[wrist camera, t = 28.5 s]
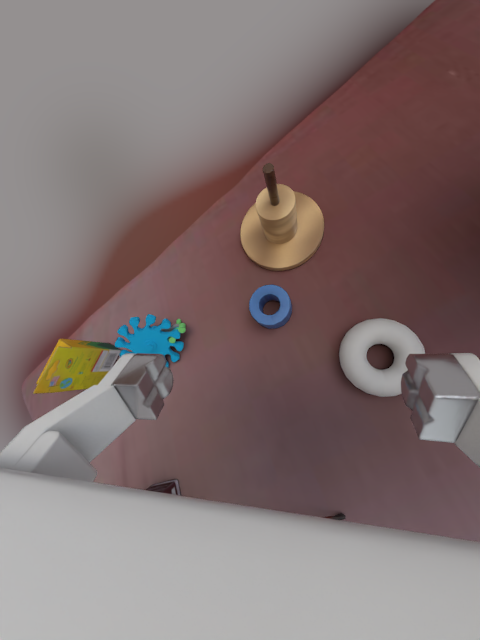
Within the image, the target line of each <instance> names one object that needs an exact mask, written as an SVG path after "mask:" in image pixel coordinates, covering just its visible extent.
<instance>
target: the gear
mask: <svg viewBox="0 0 480 640" xmlns="http://www.w3.org/2000/svg"><path fill="white" fill-rule="evenodd" d="M155 320H156V317H155V316H153V315H150V314H148V315H147V317H146V326H145V327H144V328H142V329H141V328H139V327H138V324H139V322H140V319H139V317H133V318H131V319H130V321H129V323H130V325H131V326H132V327H133V329H134V334H130V333H129V332H128V327H127V326H126V325H123V326H121V327H120V328H119V329H118V331H117V332H118V333H119V334H120V335H123V336H125V337H126V338H127V339H128V340H129V341H130V343H127V342H125V340H124V339H123V338H121V337H118V338H117V340H116V342H115V347H118V348H119V347H124V348H128V349H130V350H132V351H133V352H129V351H127V350H121V352H120V357H121V356H122V355H124V354H126V353H134V354H137V353H145V354H162V355H164V357H165V355H166V354H169V355H171V361H172V362H176V361H177V360H179V357H180V355H179V354H178V353H176V352H174V351H172V350H171V348H170V346H174V347H175V348H176V350H178V351H181V350H182V349H183V346H184V343H183V342H181V341H179V342H176V339H179V338H180V334H181V333H184V332H185V329H186V325H185V324H184V323H181V320H180V319H177V322H176V324H174V325H172V326H171V322H170V321H169V320H168V319H164V320H163V321H162V323H161V324H160V325H159V326H153V327H150V325H151V324H153V323H154V322H155ZM166 361H167V360H166ZM168 365H169V363H168V361H167V362H166V365H165V366H166V367H168Z"/></svg>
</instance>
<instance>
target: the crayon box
mask: <svg viewBox="0 0 480 640" xmlns="http://www.w3.org/2000/svg"><path fill="white" fill-rule="evenodd" d="M120 352H121V350H119V349H118V348H116V347H115V346H113V345H112V344H110V343H100V342H90V341H80V340H70V339H59V341H58V343H57V345H56V347H55V349H54V351H53V353H52V354H51V356H50V358H49V360H48V362H47V364H46V366H45V368H44V370H43V372H42V373H41V375H40V377H39V379H38V381H37V383H36V384H37V386H36V388H35V390H34V392H33V394H37V393H54V392H63V391H72V390H81V389H88V388H90V387H92V386H93V385H98V384H99V383H100V381H101V380H102V379H103V378H104V377H105V375H106V374H107V373H108V372H109V371H110V369H111V368H112V367H113V365H114V363H115V361H116V359H117V357H118V355H119V354H120Z"/></svg>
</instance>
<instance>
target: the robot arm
mask: <svg viewBox="0 0 480 640" xmlns="http://www.w3.org/2000/svg"><path fill="white" fill-rule="evenodd" d="M166 362H167V361H166V359H165V357H164V355H162V354H145V353H137V354H134V353H126V354H124V355H122V356H121V357H120V358H119V360H118V361H117V362H116V363H115V365H114V366H113V367H112V368H111V369H110V371H109V372H108V373H107V374H106V375H105V377H104V378H103V379H102V380H101V381H100V383H99V384H98V385H93V386H92V387H90V388H88V389H87V390H85V391H83V392H82V393H80V394H78V395H77V396H75V397H73V398H72V399H70V400H68V401H67V402H65V403H63V404H62V405H60V406H58V407H57V408H55V409H53V410H52V411H50V412H48V413H47V414H45V415H43V416H42V417H40V418H38V419H37V420H35V421H33V422H32V423H31V424H29V425H27V426H25V427H24V428H23V429H22V430H21V431H20V432H19V433H18V435H17V436H16V437H15V438H14V439H13V440H12V441H11V442H10V443H9V444H8V445H7V446H6V447H5V448H4V449H3V450H2V451H1V452H0V640H480V542H477V541H471V540H464V539H458V538H451V537H445V536H438V535H432V534H425V533H419V532H412V531H406V530H400V529H393V528H387V527H380V526H374V525H367V524H361V523H354V522H348V521H341V520H335V519H329V518H322V517H316V516H309V515H303V514H296V513H290V512H283V511H277V510H270V509H264V508H258V507H251V506H245V505H238V504H232V503H225V502H219V501H212V500H206V499H199V498H193V497H187V496H180V495H174V494H167V493H161V492H154V491H148V490H141V489H135V488H128V487H122V486H115V485H109V484H102V483H96V482H93V481H94V479H95V478H96V476H97V470H96V469H95V468H94V467H93V466H92V465H91V464H90V462H91V461H92V460H93V459H94V458H95V457H96V456H97V455H98V454H99V453H101V452H102V451H103V450H104V449H105V448H106V447H107V446H108V445H109V444H110V443H112V442H113V441H114V440H115V439H116V438H117V437H118V436H119V435H120V434H121V433H122V432H124V431H125V430H126V429H127V428H128V427H129V426H130V425H131V424H132V423H133V422H135V421H136V419H147V420H156V419H157V418H158V416H159V414H160V412H161V410H162V408H163V406H164V401H163V399H164V398H165V397H167V396H168V395H169V394H170V392H171V390H172V387H173V381H174V380H173V374H172V372H171V370H170V369H169V368H168V367H166V366H165V365H166ZM405 365H406V367H407V369H408V370H407V371H406V372H405V373H403V374H402V378H401V393H402V397H403V400H404V403H405V405H406V406H407V407H409V408H410V409H411V410H412V411H413V412H412V415H411V421H412V423H413V425H414V428H415V430H416V433H417V435H418V438H419V439H421V440H431V441H441V442H451V443H455V445H456V446H457V447H458V448H459V449H460V450H461V451H463V452H464V453H465V454H466V455H467V456H468V457H469V458H470V459H471V460H472V461H473V462H474V463H475V464H476V465H478V466H479V467H480V360H479V359H478V357H477V356H476V355H474V354H472V353H450V354H409V355H408V356H407V358H406V362H405Z"/></svg>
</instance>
